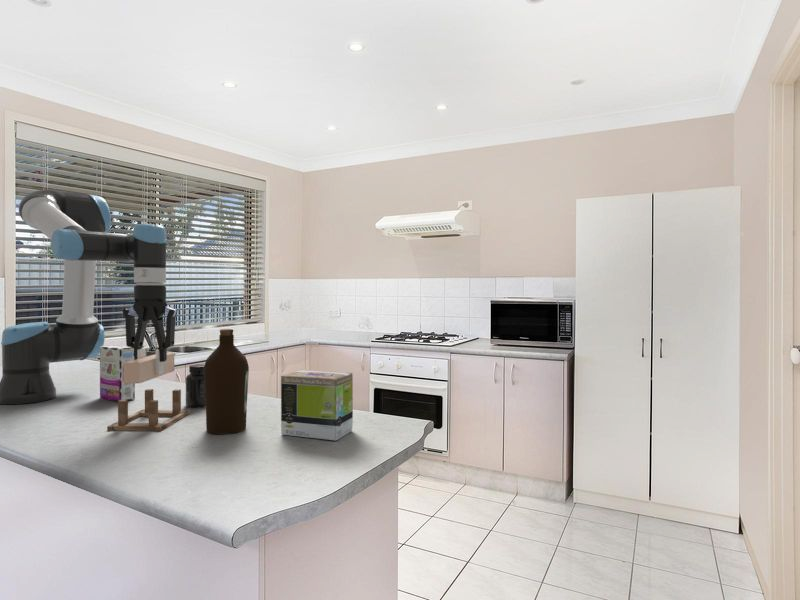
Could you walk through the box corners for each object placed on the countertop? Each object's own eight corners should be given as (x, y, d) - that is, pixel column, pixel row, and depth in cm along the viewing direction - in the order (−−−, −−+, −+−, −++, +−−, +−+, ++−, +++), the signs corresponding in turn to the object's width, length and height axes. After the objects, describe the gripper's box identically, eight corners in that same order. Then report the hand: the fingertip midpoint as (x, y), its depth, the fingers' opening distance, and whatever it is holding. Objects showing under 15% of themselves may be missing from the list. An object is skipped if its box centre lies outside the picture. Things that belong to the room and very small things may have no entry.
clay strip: (160, 370, 142) (160, 352, 142) (174, 370, 142) (174, 353, 142) (123, 383, 124) (123, 362, 124) (139, 383, 124) (139, 363, 124)
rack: (142, 412, 142) (142, 388, 142) (189, 413, 142) (189, 388, 142) (107, 430, 125) (107, 402, 125) (160, 431, 125) (160, 402, 125)
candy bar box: (136, 399, 158) (135, 347, 157) (120, 402, 154) (120, 348, 153) (114, 395, 163) (114, 344, 163) (99, 398, 159) (98, 346, 159)
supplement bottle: (180, 406, 149) (180, 366, 149) (197, 401, 156) (197, 362, 155) (198, 409, 147) (198, 367, 146) (215, 404, 153) (215, 364, 153)
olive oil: (207, 437, 120) (207, 332, 119) (200, 426, 129) (200, 328, 128) (253, 431, 125) (253, 330, 124) (243, 421, 134) (243, 327, 134)
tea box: (353, 430, 127) (354, 372, 127) (335, 442, 118) (336, 379, 117) (300, 424, 132) (301, 368, 132) (279, 435, 123) (279, 374, 122)
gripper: (109, 284, 128) (109, 376, 129) (176, 284, 128) (176, 376, 129) (125, 284, 136) (126, 371, 137) (189, 284, 136) (189, 371, 137)
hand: (150, 373), depth 133 cm, fingers closed on clay strip, 4 cm apart
